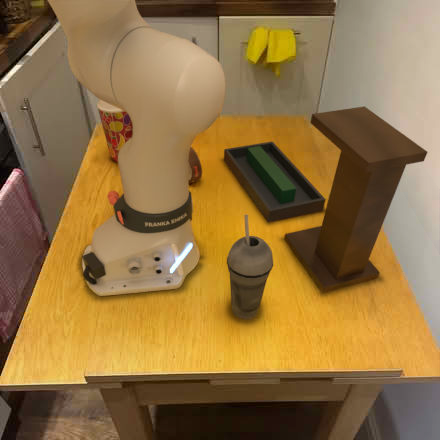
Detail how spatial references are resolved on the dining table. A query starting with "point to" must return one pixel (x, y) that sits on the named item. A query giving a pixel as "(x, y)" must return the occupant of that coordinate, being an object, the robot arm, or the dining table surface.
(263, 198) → the tray
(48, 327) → the dining table surface
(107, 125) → the smoothie
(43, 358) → the dining table surface
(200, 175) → the tin
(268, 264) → the beverage cup
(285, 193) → the long green square beam
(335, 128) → the stand
